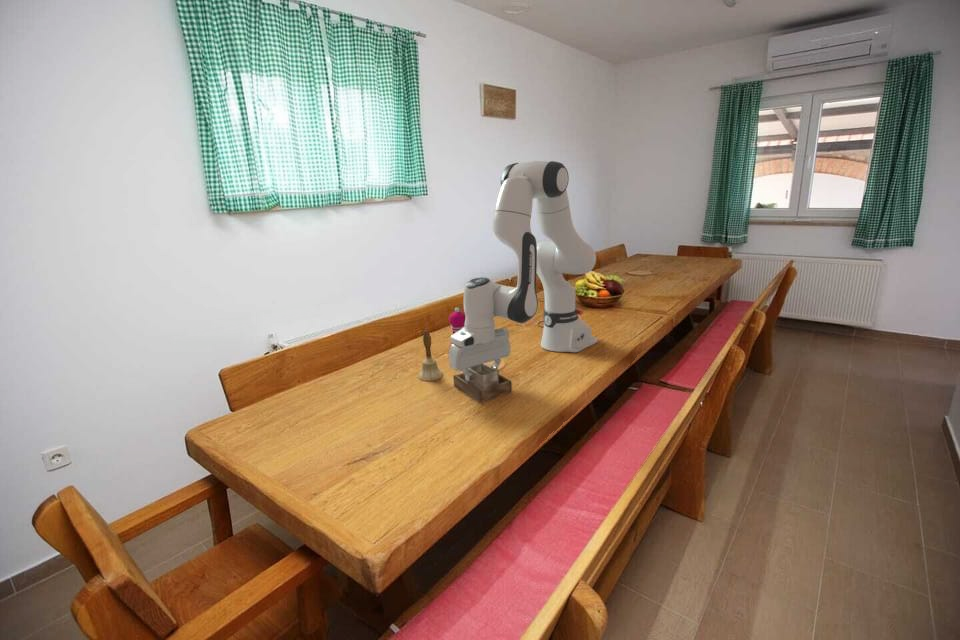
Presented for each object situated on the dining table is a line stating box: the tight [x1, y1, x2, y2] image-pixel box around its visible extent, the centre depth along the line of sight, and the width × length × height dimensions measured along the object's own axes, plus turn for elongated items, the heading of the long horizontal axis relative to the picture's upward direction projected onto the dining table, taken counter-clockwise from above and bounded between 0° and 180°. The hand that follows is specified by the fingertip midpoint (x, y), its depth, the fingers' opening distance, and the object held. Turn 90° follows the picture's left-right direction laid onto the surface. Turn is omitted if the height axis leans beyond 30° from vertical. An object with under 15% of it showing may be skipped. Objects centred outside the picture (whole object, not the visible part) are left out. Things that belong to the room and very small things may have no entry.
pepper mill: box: [448, 307, 466, 350], centre depth 162 cm, size 7×7×20 cm
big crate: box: [453, 372, 513, 404], centre depth 143 cm, size 12×15×4 cm
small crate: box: [466, 363, 500, 390], centre depth 142 cm, size 6×9×6 cm, turn 33°
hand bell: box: [417, 329, 444, 382], centre depth 152 cm, size 8×8×16 cm
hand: (481, 376), depth 142 cm, fingers open, 8 cm apart
